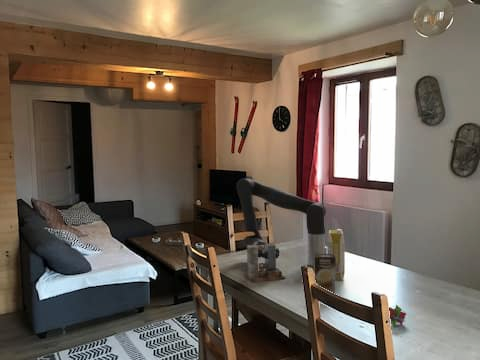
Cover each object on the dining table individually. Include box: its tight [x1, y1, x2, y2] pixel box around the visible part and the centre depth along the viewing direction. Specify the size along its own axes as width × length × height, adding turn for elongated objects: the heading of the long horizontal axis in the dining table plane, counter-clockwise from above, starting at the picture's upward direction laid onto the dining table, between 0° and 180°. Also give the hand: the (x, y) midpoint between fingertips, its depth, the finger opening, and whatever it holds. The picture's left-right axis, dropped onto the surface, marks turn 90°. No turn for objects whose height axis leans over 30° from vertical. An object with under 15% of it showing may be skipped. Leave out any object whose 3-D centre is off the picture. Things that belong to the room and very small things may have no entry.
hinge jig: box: [244, 245, 286, 283], centre depth 198 cm, size 17×13×16 cm
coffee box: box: [312, 253, 336, 294], centre depth 177 cm, size 9×6×16 cm
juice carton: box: [326, 228, 346, 282], centre depth 193 cm, size 9×8×24 cm
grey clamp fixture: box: [258, 242, 277, 276], centre depth 198 cm, size 8×5×15 cm, turn 105°
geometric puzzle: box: [389, 304, 407, 328], centre depth 142 cm, size 7×7×8 cm
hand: (272, 256), depth 195 cm, fingers open, 4 cm apart
